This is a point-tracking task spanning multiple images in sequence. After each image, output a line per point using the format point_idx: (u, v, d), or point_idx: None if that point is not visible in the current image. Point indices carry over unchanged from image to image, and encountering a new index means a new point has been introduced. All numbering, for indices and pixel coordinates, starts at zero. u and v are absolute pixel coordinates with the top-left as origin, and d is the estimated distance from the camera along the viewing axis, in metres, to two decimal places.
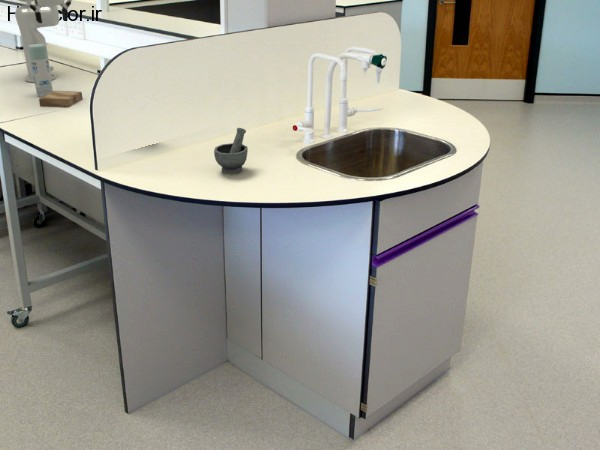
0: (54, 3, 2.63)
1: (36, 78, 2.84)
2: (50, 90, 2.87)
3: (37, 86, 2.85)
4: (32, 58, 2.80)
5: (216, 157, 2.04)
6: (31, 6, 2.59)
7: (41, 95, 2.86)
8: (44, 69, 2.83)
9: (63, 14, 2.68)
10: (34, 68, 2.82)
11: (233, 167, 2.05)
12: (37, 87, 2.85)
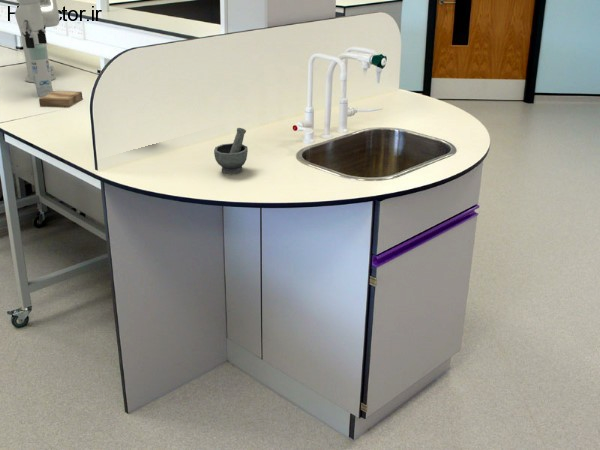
0: (40, 28, 2.78)
1: (36, 78, 2.84)
2: (50, 90, 2.87)
3: (37, 86, 2.85)
4: (32, 58, 2.80)
5: (216, 157, 2.04)
6: (27, 32, 2.71)
7: (41, 95, 2.86)
8: (44, 69, 2.83)
9: (41, 38, 2.84)
10: (34, 68, 2.82)
11: (233, 167, 2.05)
12: (37, 87, 2.85)
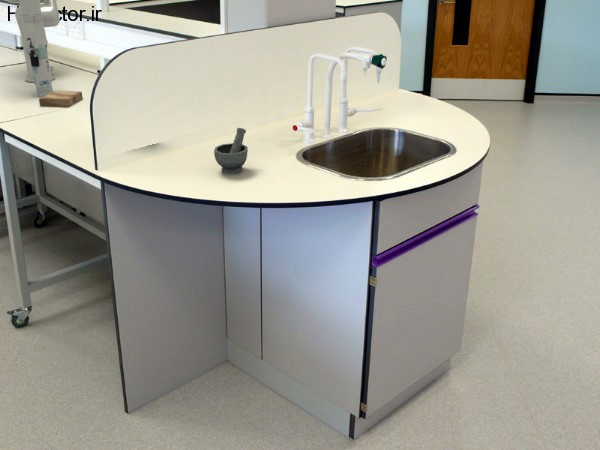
0: None
1: (36, 78, 2.84)
2: (50, 90, 2.87)
3: (37, 86, 2.85)
4: None
5: (216, 157, 2.04)
6: (32, 51, 2.76)
7: (41, 95, 2.86)
8: (44, 69, 2.83)
9: None
10: (34, 68, 2.82)
11: (233, 167, 2.05)
12: (37, 87, 2.85)
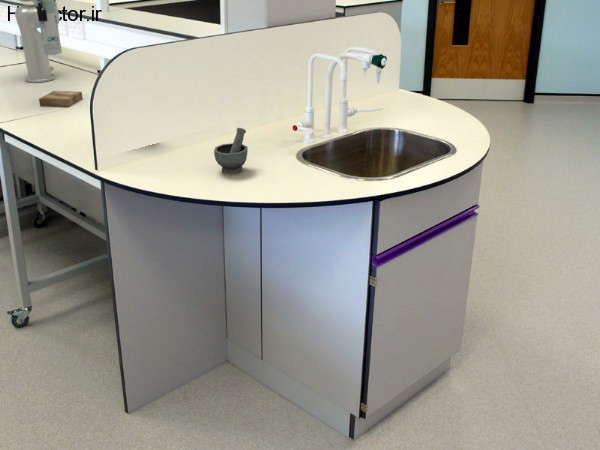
0: None
1: (44, 34, 2.65)
2: (58, 47, 2.69)
3: (45, 43, 2.67)
4: None
5: (216, 157, 2.04)
6: (39, 4, 2.57)
7: (48, 52, 2.68)
8: (52, 24, 2.64)
9: None
10: (41, 23, 2.63)
11: (233, 167, 2.05)
12: (45, 44, 2.67)
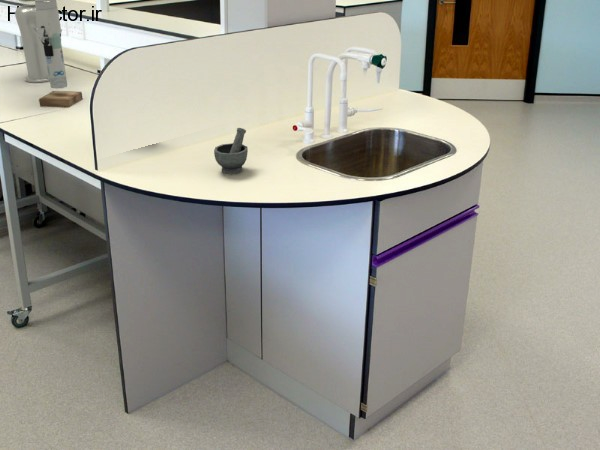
0: (57, 33, 2.68)
1: (50, 68, 2.70)
2: (64, 81, 2.74)
3: (51, 77, 2.72)
4: None
5: (216, 157, 2.04)
6: (45, 40, 2.63)
7: (54, 86, 2.73)
8: (58, 59, 2.69)
9: None
10: (48, 58, 2.69)
11: (233, 167, 2.05)
12: (51, 78, 2.72)
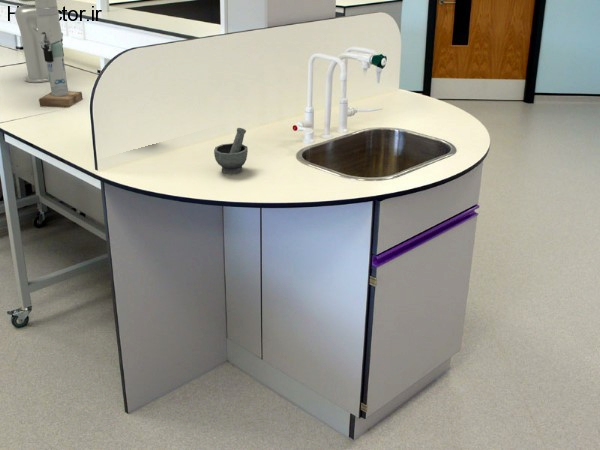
0: (58, 40, 2.69)
1: (51, 77, 2.72)
2: (65, 89, 2.75)
3: (52, 85, 2.73)
4: None
5: (216, 157, 2.04)
6: (45, 46, 2.63)
7: (56, 94, 2.74)
8: (59, 67, 2.71)
9: None
10: (49, 66, 2.70)
11: (233, 167, 2.05)
12: (52, 86, 2.73)
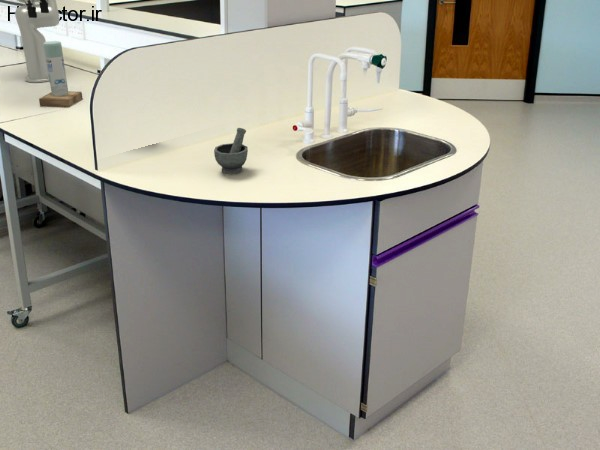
0: None
1: (51, 76, 2.72)
2: (65, 89, 2.75)
3: (52, 85, 2.73)
4: (47, 56, 2.68)
5: (216, 157, 2.04)
6: (29, 1, 2.62)
7: (56, 94, 2.74)
8: (59, 67, 2.71)
9: (43, 7, 2.74)
10: (49, 66, 2.70)
11: (233, 167, 2.05)
12: (52, 86, 2.74)
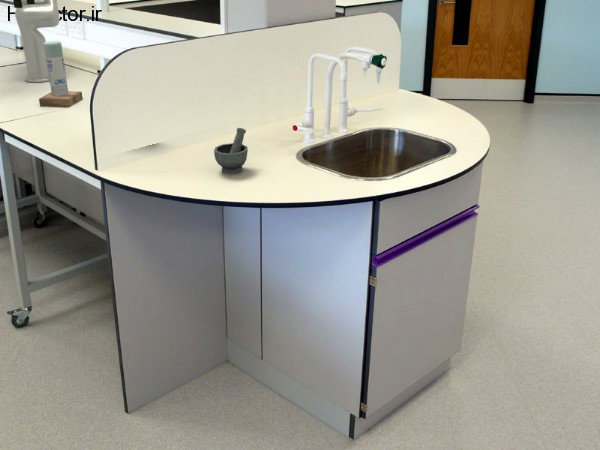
0: None
1: (51, 77, 2.72)
2: (65, 89, 2.75)
3: (52, 85, 2.73)
4: (47, 56, 2.68)
5: (216, 157, 2.04)
6: None
7: (56, 94, 2.74)
8: (59, 67, 2.71)
9: None
10: (49, 66, 2.70)
11: (233, 167, 2.05)
12: (52, 86, 2.73)
